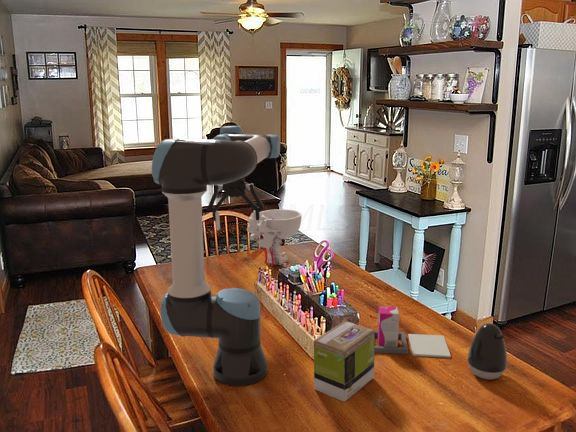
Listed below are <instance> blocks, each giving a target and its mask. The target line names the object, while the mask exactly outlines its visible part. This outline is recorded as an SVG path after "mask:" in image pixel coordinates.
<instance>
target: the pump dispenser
mask: <svg viewBox="0 0 576 432" xmlns="http://www.w3.org/2000/svg"><path fill="white" fill-rule="evenodd" d="M504 338H505V336H504V335H503V333H502V331H501V329H500V328H499V326H498V325H496V324H494V323H491V322H489V323H484V324H482V325H481V326H480V327H479V328H478V329H477V331H476V332H475V334H474V336H473V339H472V340H471V343H470V346H469V349H468V353H467V363H468V366H469V368H470V370H471V372H472V374H474V375H475V376H477V377H478V378H481V379H483V380H488V381H489V380H496V379H498V378H500V377H501V376H502V375H503V374H504V373H505V370H506V369H507V367H508V354H507V347H506V343H505V339H504Z"/></svg>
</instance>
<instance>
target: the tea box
mask: <svg viewBox="0 0 576 432" xmlns="http://www.w3.org/2000/svg"><path fill="white" fill-rule="evenodd" d="M375 331H376V330H375V329H373V328H370V327H366V326H362V325H360V324H356V323H353V322H351V321H350V322H349V321H347V320H344V321H342V322H341V323H339V324H337V325H336V326H334V327H332V328H331V329H330V330H328V331H326V332H325V333H323V334H321V335H319V337H317V338H315V339H313V375H314V376H313V388H314V390H316V391H318V392H321V393H322V394H325V395H326V396H329V397H331V398H333V399H335V400H338V401H341V402H346V401H347V400H348V399H350V398H351V397H352V396H353V395H355V394H356V393H357V392H358V391H360V390H361V389H362V388H363V387H365V386H366V385H367V384H368V383H369V382H370V381H372V380H373V379H374V378H375V352H374V346H375V342H376V341H375V338H376V337H375Z"/></svg>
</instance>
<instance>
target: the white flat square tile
mask: <svg viewBox="0 0 576 432" xmlns="http://www.w3.org/2000/svg"><path fill="white" fill-rule="evenodd" d="M407 336H408V341H409V346H410V350H411V353H412V354H411V355H412V356H413V357H429V358H431V357H432V358H446V359H448V358H450V359H451V358H452V355H451V353H450V350H449V347H448V345H447V341H446V339H445V337H444V335H439V334H417V333H408V334H407Z"/></svg>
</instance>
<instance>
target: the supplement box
mask: <svg viewBox="0 0 576 432" xmlns="http://www.w3.org/2000/svg"><path fill="white" fill-rule="evenodd" d="M377 317H378V318H377V319H378V320H377V321H378V322H377V323H378V326H377V331H378V337H377V343H378V345H377V346H386V347H399V338H398V332H399V324H400V323H399V322H400V313H399V310H398V306H378V316H377Z"/></svg>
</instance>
